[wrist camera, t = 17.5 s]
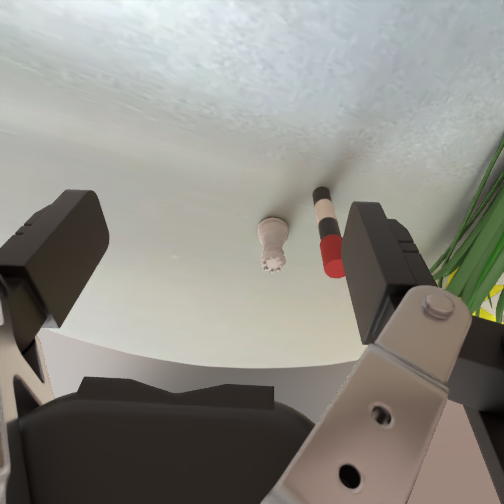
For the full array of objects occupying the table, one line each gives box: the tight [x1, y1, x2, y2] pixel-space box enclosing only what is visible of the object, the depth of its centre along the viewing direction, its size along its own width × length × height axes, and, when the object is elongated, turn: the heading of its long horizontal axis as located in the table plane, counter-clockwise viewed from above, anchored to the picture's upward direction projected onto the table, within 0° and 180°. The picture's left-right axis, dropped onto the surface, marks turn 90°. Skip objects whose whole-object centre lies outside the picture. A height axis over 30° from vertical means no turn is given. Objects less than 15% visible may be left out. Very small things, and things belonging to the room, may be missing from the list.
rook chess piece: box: [257, 218, 288, 274], centre depth 45 cm, size 4×4×8 cm
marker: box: [313, 187, 345, 278], centre depth 38 cm, size 3×3×14 cm
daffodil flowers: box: [429, 138, 504, 324], centre depth 42 cm, size 17×15×35 cm
